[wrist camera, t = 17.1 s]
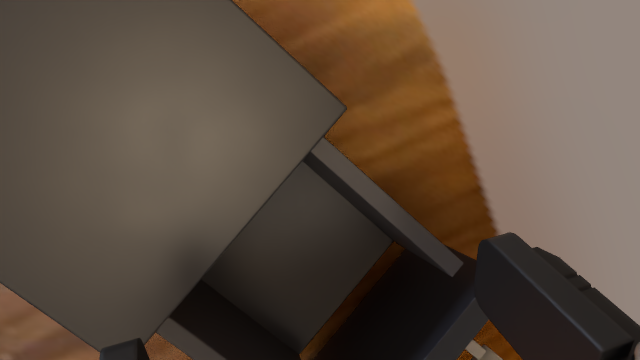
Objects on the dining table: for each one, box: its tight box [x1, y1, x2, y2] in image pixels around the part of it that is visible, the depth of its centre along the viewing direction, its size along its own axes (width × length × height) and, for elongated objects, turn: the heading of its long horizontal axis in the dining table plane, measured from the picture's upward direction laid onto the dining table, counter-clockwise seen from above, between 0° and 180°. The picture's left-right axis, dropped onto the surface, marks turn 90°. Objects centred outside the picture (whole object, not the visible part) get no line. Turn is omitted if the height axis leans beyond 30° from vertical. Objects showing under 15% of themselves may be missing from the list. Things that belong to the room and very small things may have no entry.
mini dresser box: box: [156, 137, 503, 360], centre depth 24 cm, size 19×11×9 cm, turn 48°
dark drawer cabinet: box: [0, 0, 347, 352], centre depth 22 cm, size 16×13×11 cm
